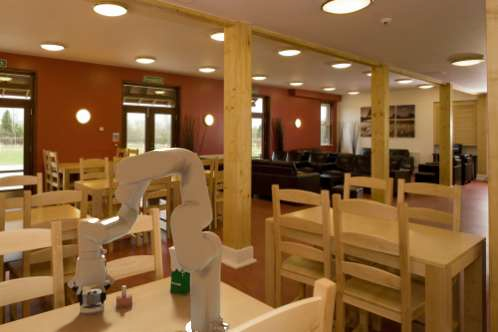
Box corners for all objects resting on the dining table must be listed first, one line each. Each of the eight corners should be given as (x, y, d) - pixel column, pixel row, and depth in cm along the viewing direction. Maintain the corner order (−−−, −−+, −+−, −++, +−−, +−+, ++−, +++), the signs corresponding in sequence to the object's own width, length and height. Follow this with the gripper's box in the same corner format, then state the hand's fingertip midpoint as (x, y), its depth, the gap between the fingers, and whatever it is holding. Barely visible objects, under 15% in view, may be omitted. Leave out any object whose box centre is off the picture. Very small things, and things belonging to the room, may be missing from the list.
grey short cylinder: (103, 296, 135) (103, 288, 135) (100, 304, 129) (100, 295, 129) (84, 297, 134) (84, 289, 134) (80, 305, 128) (80, 297, 128)
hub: (109, 308, 133) (108, 289, 133) (89, 317, 126) (88, 297, 126) (95, 303, 138) (95, 284, 137) (75, 311, 131) (74, 292, 130)
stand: (135, 303, 137) (135, 285, 136) (123, 309, 132) (122, 290, 132) (125, 300, 140) (125, 282, 140) (113, 305, 135) (112, 287, 135)
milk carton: (198, 288, 151) (197, 240, 149) (184, 297, 143) (183, 246, 141) (180, 284, 155) (180, 237, 153) (166, 292, 147) (165, 243, 145)
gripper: (118, 249, 136) (119, 296, 137) (67, 251, 132) (68, 300, 134) (115, 255, 128) (116, 305, 130) (60, 258, 125) (63, 310, 126)
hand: (92, 302), depth 132 cm, fingers closed on grey short cylinder, 6 cm apart
